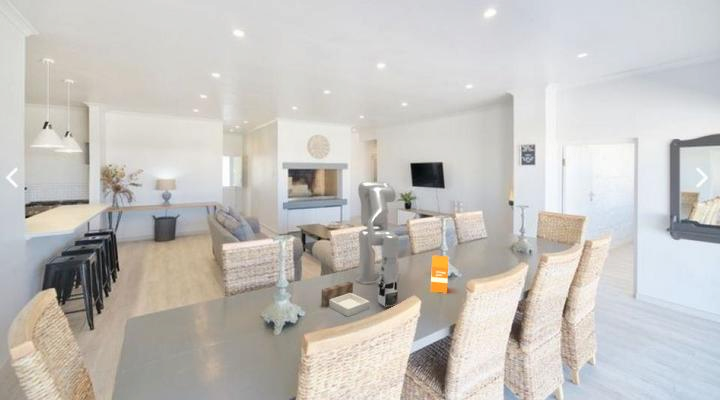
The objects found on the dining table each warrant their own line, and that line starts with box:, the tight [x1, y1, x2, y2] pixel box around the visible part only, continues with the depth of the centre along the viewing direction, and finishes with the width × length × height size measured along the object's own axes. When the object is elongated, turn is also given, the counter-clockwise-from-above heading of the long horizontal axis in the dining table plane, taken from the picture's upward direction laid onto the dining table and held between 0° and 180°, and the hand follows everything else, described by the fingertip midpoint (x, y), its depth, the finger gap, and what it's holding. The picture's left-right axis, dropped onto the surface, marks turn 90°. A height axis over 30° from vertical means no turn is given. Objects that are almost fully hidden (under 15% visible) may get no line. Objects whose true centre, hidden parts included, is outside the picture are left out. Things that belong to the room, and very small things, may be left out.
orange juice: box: [430, 254, 449, 294], centre depth 183 cm, size 8×9×20 cm
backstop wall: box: [320, 281, 354, 308], centre depth 164 cm, size 18×3×8 cm, turn 134°
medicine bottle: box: [377, 281, 399, 308], centre depth 161 cm, size 7×7×12 cm
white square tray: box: [328, 293, 371, 317], centre depth 157 cm, size 14×14×4 cm
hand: (387, 293), depth 161 cm, fingers closed on medicine bottle, 8 cm apart
